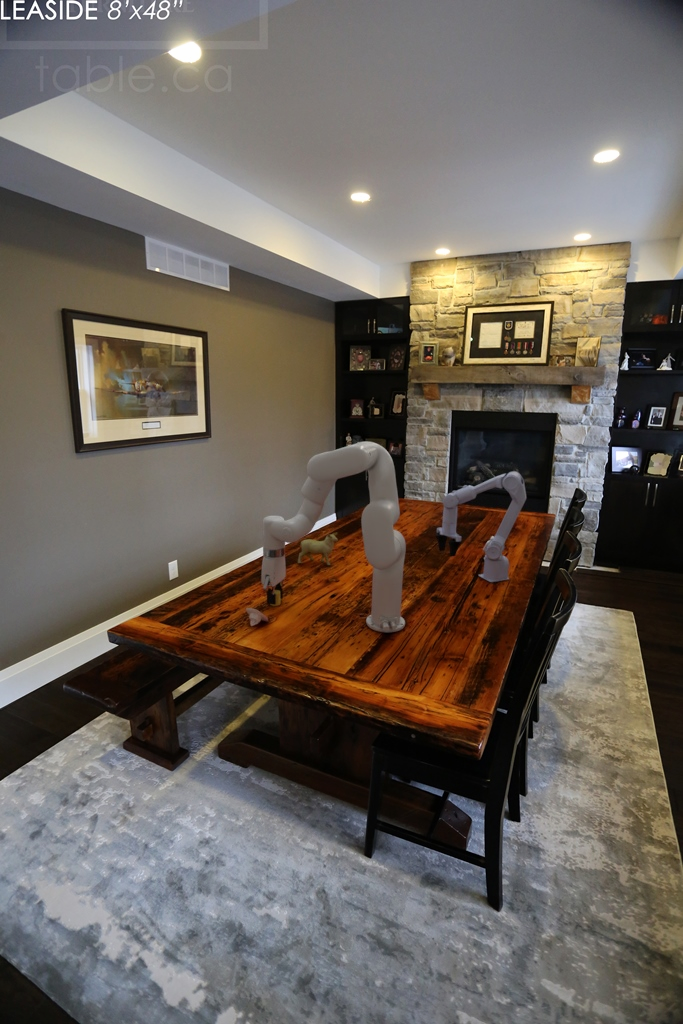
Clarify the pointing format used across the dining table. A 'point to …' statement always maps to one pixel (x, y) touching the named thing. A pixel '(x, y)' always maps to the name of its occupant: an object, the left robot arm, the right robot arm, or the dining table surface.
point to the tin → (277, 598)
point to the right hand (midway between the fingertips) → (447, 553)
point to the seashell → (255, 616)
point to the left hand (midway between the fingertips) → (274, 600)
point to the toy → (318, 548)
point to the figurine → (487, 544)
